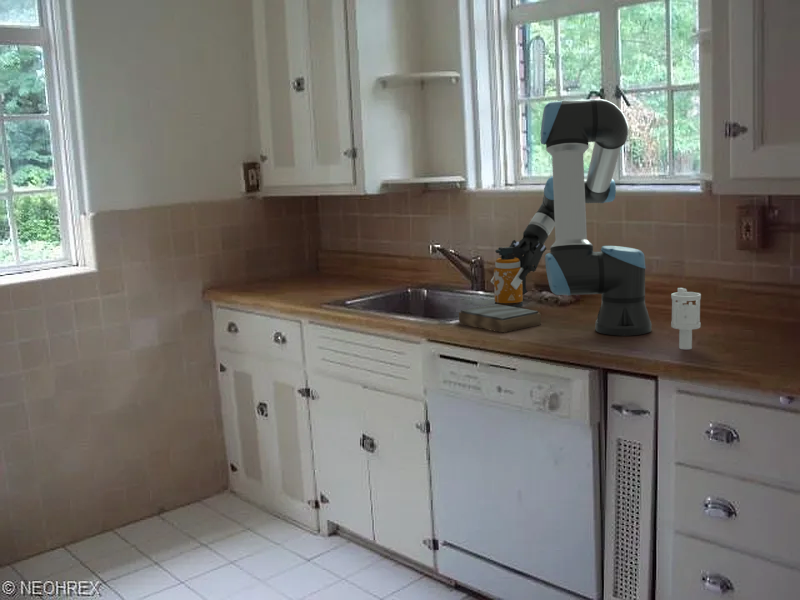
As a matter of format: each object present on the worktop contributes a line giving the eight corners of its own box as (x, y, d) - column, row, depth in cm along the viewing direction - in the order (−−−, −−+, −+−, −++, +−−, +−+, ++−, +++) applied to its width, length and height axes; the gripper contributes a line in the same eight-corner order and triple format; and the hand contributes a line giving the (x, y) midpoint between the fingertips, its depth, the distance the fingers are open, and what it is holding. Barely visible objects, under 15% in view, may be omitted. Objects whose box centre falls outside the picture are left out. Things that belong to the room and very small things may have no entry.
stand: (540, 324, 270) (540, 311, 269) (502, 332, 261) (502, 318, 260) (496, 316, 285) (496, 303, 284) (459, 323, 276) (458, 310, 276)
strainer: (692, 344, 238) (692, 286, 236) (705, 350, 231) (706, 290, 229) (666, 346, 237) (666, 288, 234) (678, 352, 230) (679, 292, 228)
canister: (489, 307, 299) (488, 245, 296) (519, 303, 304) (518, 243, 300) (503, 311, 291) (502, 248, 288) (533, 308, 295) (532, 245, 292)
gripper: (568, 239, 294) (533, 296, 288) (521, 235, 311) (487, 288, 305) (556, 224, 290) (520, 281, 284) (509, 221, 307) (474, 274, 301)
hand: (503, 285), depth 294 cm, fingers closed on canister, 9 cm apart
